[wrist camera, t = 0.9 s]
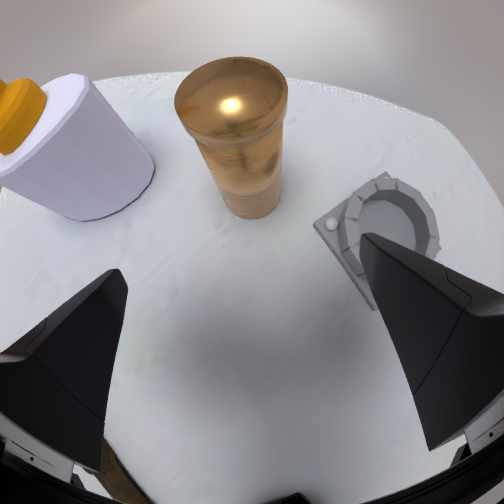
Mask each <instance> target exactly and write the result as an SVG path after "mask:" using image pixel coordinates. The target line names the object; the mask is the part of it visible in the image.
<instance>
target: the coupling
mask: <svg viewBox="0 0 504 504" xmlns="http://www.w3.org/2000/svg"><path fill="white" fill-rule="evenodd" d="M287 97H288V87H287V82H286V79H285V77H284V76H283V74H282V73H281V72H280V71H279V70H278V69H277V68H276V67H274V66H273V65H271V64H269V63H267V62H265V61H262V60H260V59H255V58H250V57H228V58H223V59H219V60H215V61H212V62H209V63H207V64H205V65H203V66H201V67H199V68H198V69H196V70H194V71H193V72H192V73H190V74H189V75H188V76H187V77H186V78H185V79H184V80H183V82H182V83H181V84H180V86H179V88H178V89H177V92H176V94H175V99H174V105H175V110H176V112H177V115H178V116H179V118H180V120H181V122H182V124H183V126H184V128H185V130H186V131H187V133H188V134H189V135H190V136H191V137H193V138H194V139H195V141H196V143H197V146H198V148H199V150H200V152H201V154H202V156H203V158H204V160H205V162H206V164H207V166H208V168H209V170H210V172H211V174H212V176H213V178H214V180H215V182H216V184H217V186H218V188H219V190H220V192H221V194H222V196H223V199H224V201H225V203H226V205H227V206H228V208H229V209H230V210H231V211H232V212H233V213H234V214H235V215H237V216H239V217H241V218H245V219H258V218H261V217H264V216H266V215H268V214H269V213H270V212H272V211H273V210H274V209H275V207H276V206H277V204H278V202H279V199H280V190H281V165H282V134H283V119H284V117H285V115H286V111H287Z"/></svg>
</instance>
